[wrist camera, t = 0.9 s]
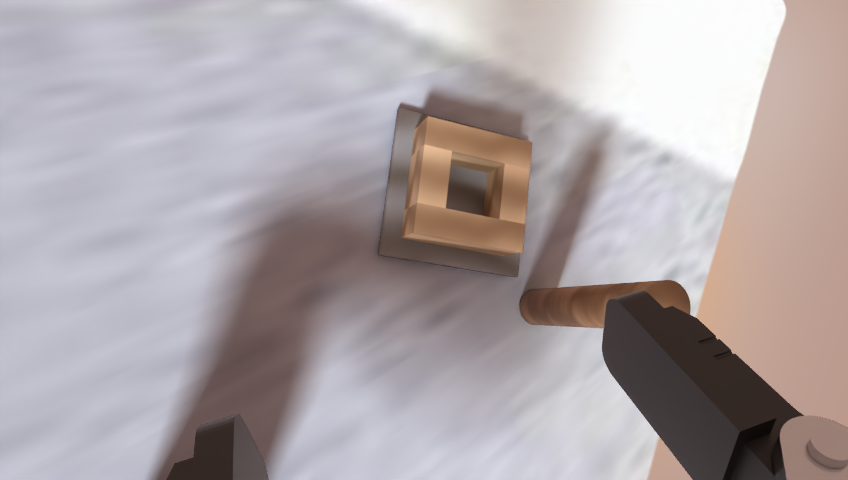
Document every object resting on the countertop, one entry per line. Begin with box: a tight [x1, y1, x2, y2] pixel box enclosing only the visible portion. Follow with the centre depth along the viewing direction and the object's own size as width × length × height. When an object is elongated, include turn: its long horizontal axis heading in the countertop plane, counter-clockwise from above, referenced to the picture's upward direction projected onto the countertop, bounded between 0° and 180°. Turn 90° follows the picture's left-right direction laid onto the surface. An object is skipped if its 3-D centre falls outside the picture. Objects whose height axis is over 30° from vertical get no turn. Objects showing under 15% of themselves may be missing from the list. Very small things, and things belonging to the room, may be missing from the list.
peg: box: [520, 280, 690, 328], centre depth 50 cm, size 4×4×20 cm
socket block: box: [378, 108, 532, 277], centre depth 56 cm, size 16×16×5 cm
